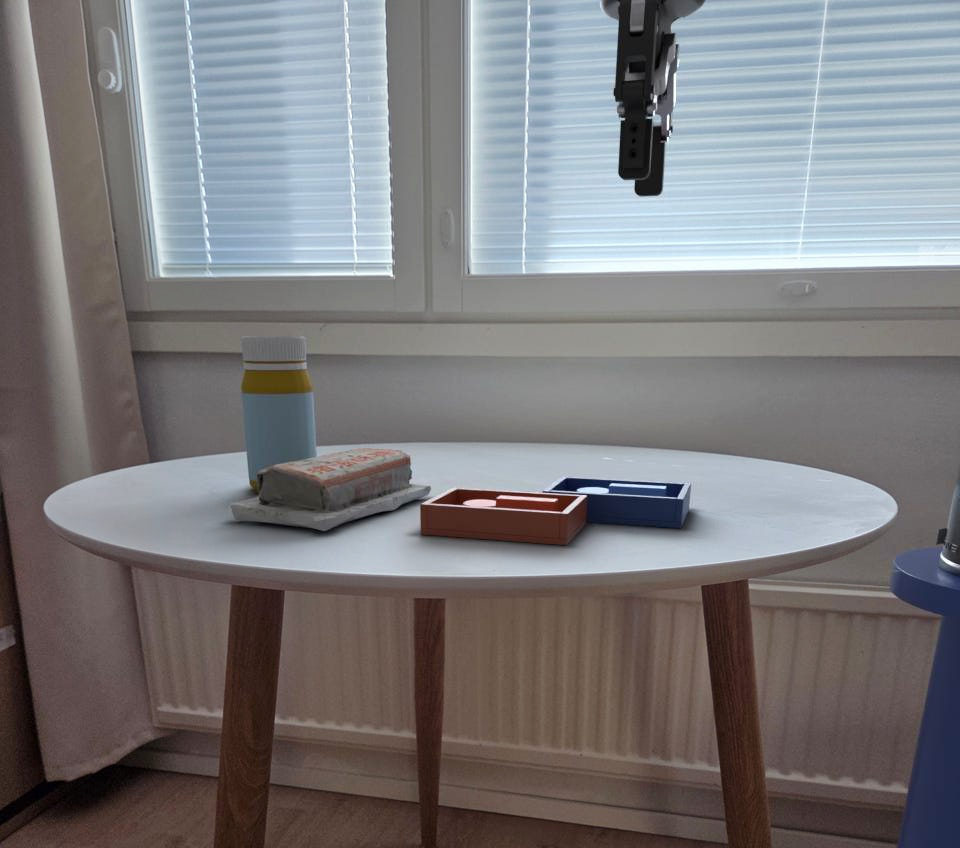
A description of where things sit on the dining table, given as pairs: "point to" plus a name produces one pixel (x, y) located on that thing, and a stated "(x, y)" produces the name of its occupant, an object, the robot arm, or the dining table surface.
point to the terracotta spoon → (517, 503)
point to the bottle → (276, 402)
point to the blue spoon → (628, 490)
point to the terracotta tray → (503, 517)
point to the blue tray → (629, 502)
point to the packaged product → (331, 489)
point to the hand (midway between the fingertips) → (641, 188)
